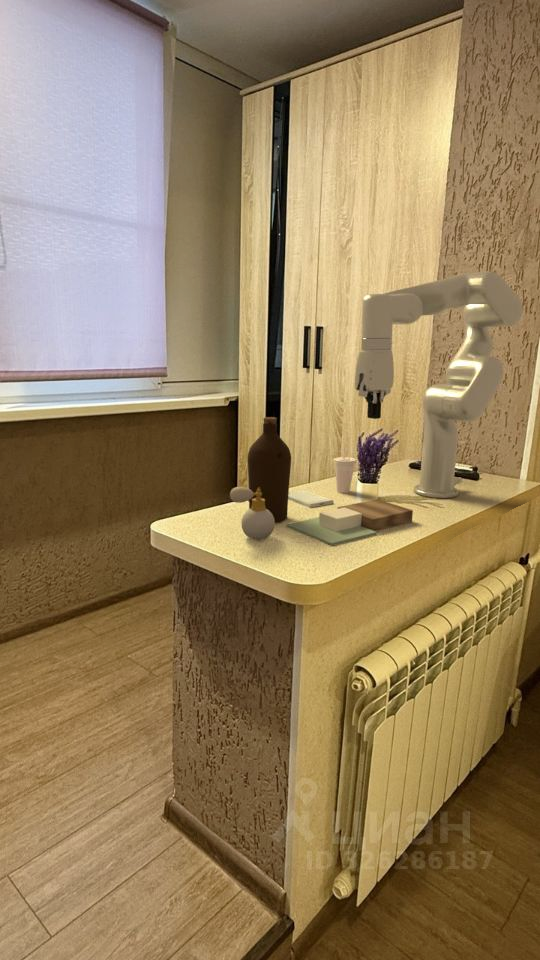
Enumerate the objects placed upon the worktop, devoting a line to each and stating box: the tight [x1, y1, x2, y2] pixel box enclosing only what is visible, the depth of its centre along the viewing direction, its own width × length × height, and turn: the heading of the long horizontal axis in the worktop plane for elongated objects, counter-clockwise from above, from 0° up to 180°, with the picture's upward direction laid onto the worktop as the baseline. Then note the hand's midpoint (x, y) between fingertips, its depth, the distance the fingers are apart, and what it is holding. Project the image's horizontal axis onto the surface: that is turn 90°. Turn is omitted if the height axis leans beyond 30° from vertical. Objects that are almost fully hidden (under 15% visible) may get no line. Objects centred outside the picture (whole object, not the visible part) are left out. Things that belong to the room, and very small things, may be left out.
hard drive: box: [288, 489, 334, 509], centre depth 166 cm, size 2×8×12 cm
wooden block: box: [337, 499, 414, 532], centre depth 149 cm, size 14×12×3 cm
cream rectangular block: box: [318, 507, 362, 531], centre depth 142 cm, size 8×6×3 cm
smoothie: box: [333, 444, 357, 494], centre depth 174 cm, size 6×6×14 cm
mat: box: [285, 516, 378, 547], centre depth 140 cm, size 14×16×1 cm
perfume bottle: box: [229, 486, 276, 541], centre depth 132 cm, size 8×10×12 cm
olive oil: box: [246, 416, 292, 524], centre depth 146 cm, size 11×11×25 cm
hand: (373, 417), depth 155 cm, fingers closed
